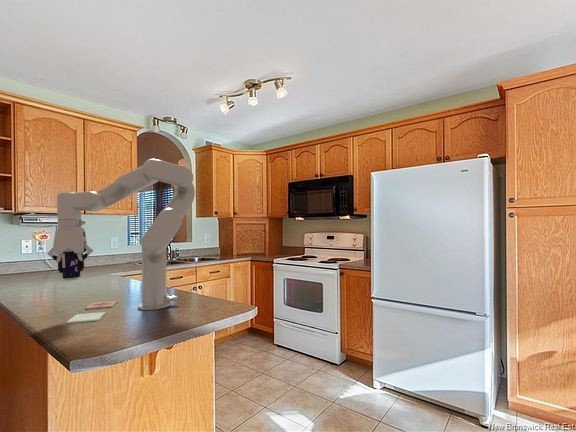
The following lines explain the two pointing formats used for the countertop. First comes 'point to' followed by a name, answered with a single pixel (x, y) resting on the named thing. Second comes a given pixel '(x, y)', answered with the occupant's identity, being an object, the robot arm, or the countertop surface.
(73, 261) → the beverage can
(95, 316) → the pad
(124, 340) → the countertop surface
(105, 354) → the countertop surface
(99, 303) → the pad
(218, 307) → the countertop surface
